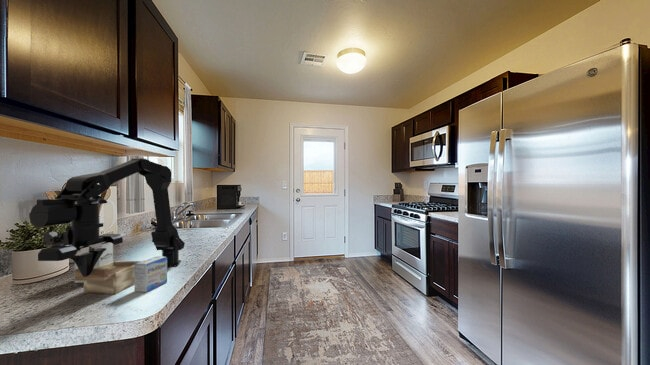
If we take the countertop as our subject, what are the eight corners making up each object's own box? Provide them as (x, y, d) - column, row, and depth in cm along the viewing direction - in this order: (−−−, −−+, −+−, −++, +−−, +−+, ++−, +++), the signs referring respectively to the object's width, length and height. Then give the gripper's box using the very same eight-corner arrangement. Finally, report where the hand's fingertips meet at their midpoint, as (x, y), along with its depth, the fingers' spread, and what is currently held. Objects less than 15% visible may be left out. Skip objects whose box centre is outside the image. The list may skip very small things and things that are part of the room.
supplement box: (99, 282, 83) (99, 244, 83) (73, 283, 82) (73, 245, 82) (114, 273, 90) (114, 239, 90) (90, 275, 89) (90, 239, 89)
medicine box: (146, 292, 75) (146, 264, 75) (133, 291, 76) (133, 263, 76) (167, 282, 83) (167, 256, 83) (156, 281, 83) (156, 255, 83)
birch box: (115, 279, 85) (115, 261, 85) (144, 279, 85) (144, 261, 85) (83, 293, 74) (83, 272, 74) (116, 293, 74) (116, 273, 74)
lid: (105, 268, 81) (105, 259, 81) (131, 268, 81) (131, 259, 81) (74, 280, 71) (74, 269, 71) (104, 280, 71) (104, 269, 71)
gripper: (89, 216, 79) (90, 264, 79) (15, 227, 61) (16, 290, 61) (124, 216, 79) (124, 265, 79) (60, 227, 60) (60, 291, 61)
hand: (85, 276), depth 70 cm, fingers closed
